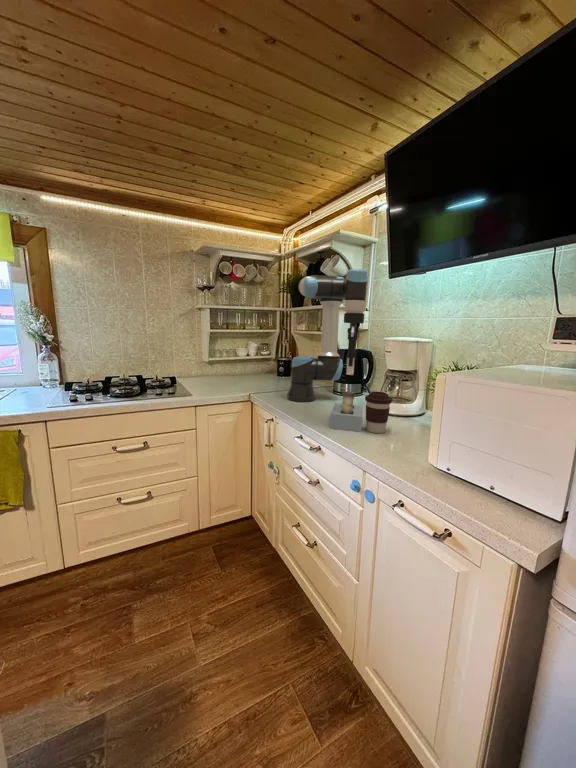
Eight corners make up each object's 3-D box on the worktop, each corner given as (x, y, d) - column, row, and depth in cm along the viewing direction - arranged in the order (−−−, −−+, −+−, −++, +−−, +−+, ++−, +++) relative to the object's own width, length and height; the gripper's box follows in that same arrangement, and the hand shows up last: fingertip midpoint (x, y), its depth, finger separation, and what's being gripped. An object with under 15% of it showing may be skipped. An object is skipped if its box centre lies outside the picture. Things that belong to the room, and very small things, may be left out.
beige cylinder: (341, 412, 130) (342, 391, 129) (352, 413, 129) (354, 392, 128) (340, 415, 126) (342, 393, 124) (352, 416, 125) (354, 394, 123)
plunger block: (333, 416, 143) (334, 403, 142) (361, 418, 140) (362, 405, 139) (329, 428, 126) (330, 413, 124) (361, 431, 123) (362, 416, 122)
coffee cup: (393, 430, 125) (396, 393, 123) (381, 436, 118) (385, 397, 115) (370, 424, 132) (373, 389, 129) (357, 430, 125) (360, 392, 122)
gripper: (345, 313, 127) (341, 371, 131) (343, 311, 115) (339, 376, 119) (364, 313, 126) (359, 372, 130) (364, 312, 113) (359, 377, 117)
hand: (349, 374), depth 124 cm, fingers closed
